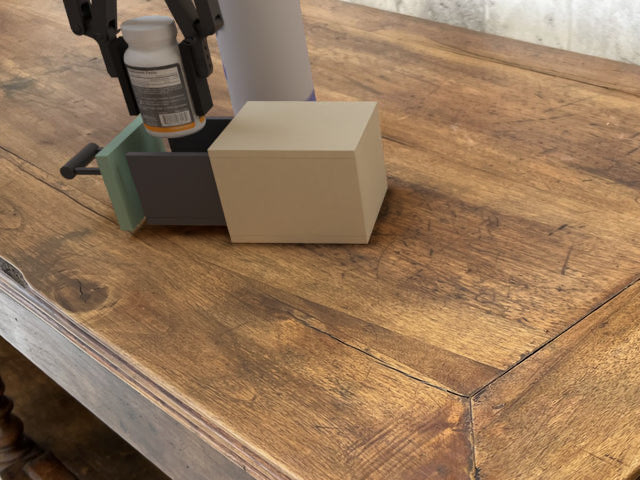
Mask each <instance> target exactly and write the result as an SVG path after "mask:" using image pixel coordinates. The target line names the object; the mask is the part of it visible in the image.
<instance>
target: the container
mask: <svg viewBox="0 0 640 480" xmlns="http://www.w3.org/2000/svg"><path fill="white" fill-rule="evenodd" d="M218 2H219V6H220V9H221V13H222V17H223V20H224V25H223V26H222V27H221V28H220V29H219V30H218V31H217V32H216V33H215V34H214V35H215V39H216V43H217V47H218V52H219V57H220V60H221V65H222V69H223V74H224V78H225V82H226V87H227V90H228V94H229V98H230V103H231V108H232V112H233V115H234V116H236V115H237V114H238V112H239V111H240V110H241V109H242V108H243V106H244V105H245V104H246V103H247V101H317V97H316V92H315V91H316V90H315V83H314V78H313V72H312V66H311V61H310V55H309V49H308V43H307V36H306V31H305V24H304V19H303V12H302V6H301V1H300V0H218Z"/></svg>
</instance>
